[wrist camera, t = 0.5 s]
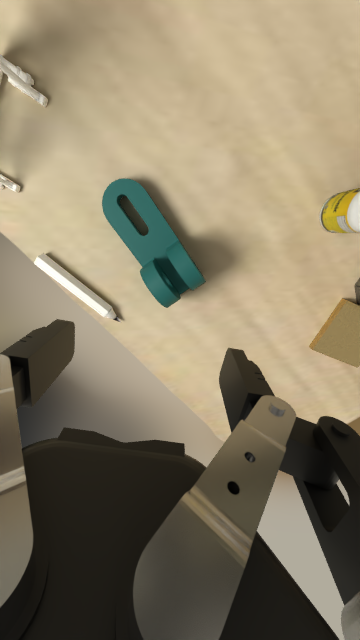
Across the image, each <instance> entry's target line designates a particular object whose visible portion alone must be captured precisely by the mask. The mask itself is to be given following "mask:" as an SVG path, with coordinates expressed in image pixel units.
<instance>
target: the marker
mask: <svg viewBox="0 0 360 640" xmlns="http://www.w3.org/2000/svg"><path fill="white" fill-rule="evenodd" d="M34 264H35V265H37V266H38V267H39V268H40V269H42V270H43V271H44V272H46V273H47V274H48V275H50V276H51V277H52V278H54V279H55V280H56V281H57V282H59V283H60V284H61V285H63V286H64V287H65V288H67V289H68V290H69V291H70V292H72V293H73V294H74V295H76V296H77V297H78V298H80V299H81V300H82V301H84V302H85V303H86V304H87V305H89V306H90V307H91V308H93V309H94V310H95V311H97V312H98V313H99V314H100V315H102V316H103V317H107V318H110V319H114V320H116V321H119V322H121V321H120V320H119V318H118V317H117V316H116V314H115V312H114V310H113V309H112V307H111V306H110V305H109V304H108V303H106V302H105V301H104V300H103V299H101V298H100V297H99V296H98V295H96V294H95V293H94V292H92V291H91V290H90V289H89V288H87V287H86V286H85V285H84V284H82V283H81V282H80V281H79V280H77V279H76V278H75V277H73V276H72V275H71V274H70V273H68V272H67V271H66V270H65V269H63V268H62V267H61V266H59V265H58V264H57V263H56V262H54V261H53V260H52V259H51V258H49V257H48V256H47V255H46V254H44V253H43V254H41V255H40V256H38V257H37V259H36V260H35V262H34Z"/></svg>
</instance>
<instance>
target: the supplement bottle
mask: <svg viewBox="0 0 360 640" xmlns="http://www.w3.org/2000/svg"><path fill="white" fill-rule="evenodd" d="M319 220H320V224H321V226H322V227H323V228H324V229H325V230H326V231H328V232H332V233H360V188H358V189H354V190H350V191H346V192H341V193H338V194H336V195H333V196H332V197H330V198H329V199H328V200H327V201H326V202H325V203H324V205H323V206H322V208H321V211H320V215H319Z"/></svg>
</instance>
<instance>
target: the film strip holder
mask: <svg viewBox="0 0 360 640" xmlns="http://www.w3.org/2000/svg"><path fill="white" fill-rule="evenodd" d="M3 73H5V74H6V75H8V81H9V82H10V83H11V84H12V85H13V86H14V87H16V88H18V89H20V90H21V91H22V92H23V93H24V94H27V95H28V96H30V97H31V98H33V99H34V100H35V101H37V102H38V103H40V104H41V105H43V106H44V107H46V105H47V102H48V99H47V98H46V97H45V96H44V95H42V94H41V93H39V92H38V91H37V90H35V89H34V88H32V87H31V85H32V86H33V85H34V80H33V79H32V78H31V75H30V74H28V73H24V72H23V71H21V68H20V67H19V66H14V65H13V64H12V63H10V62H9V61H7V60H6V59H5V58H3V56H2V55H1V54H0V85H1V81H2V77H3ZM35 98H36V99H35ZM2 184H3V185H5V186H6V187H8V188H10V189H11V190H13V191H15V192H19V191H20V188H21V187H20V186H19V185H18V184H16V183H14V182H13V181H11V180H9V179H8V178H6V177H4V176H3V175H2V174H0V189H2V190H3V188H4V186H3V185H2Z"/></svg>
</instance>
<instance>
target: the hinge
mask: <svg viewBox="0 0 360 640" xmlns="http://www.w3.org/2000/svg"><path fill="white" fill-rule="evenodd" d="M355 292H356V299H357V304H354V303H352V302H350V301H348V300H345V299H343V298H342V300H341V301H340V303H339V304H338V305H337V307H336V308H335V310H334V311H333V313H332V314H331V316H330V317H329V318H328V320H327V321H326V323H325V324H324V326H323V327H322V329H321V330H320V331H319V333H318V334H317V336H316V337H315V339H314V340H313V341H312V343H311V344H310V346H309V347H310V348H311V349H312V350H314V351H317V352H319V353H322V354H324V355H327V356H329V357H332V358H335V359H337V360H340V361H342V362H345V363H347V364H350V365H352V366H355V367H357V368H358V367H359V365H360V278H359V280H358V281H357V283H356V284H355Z"/></svg>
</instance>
